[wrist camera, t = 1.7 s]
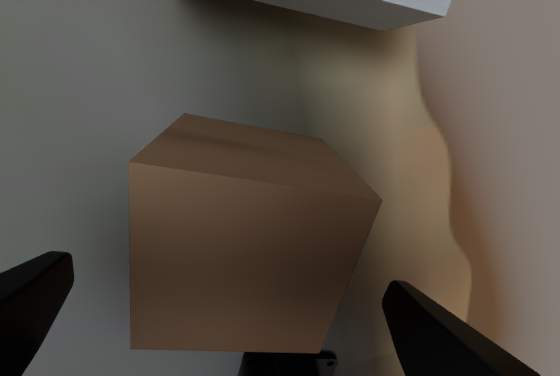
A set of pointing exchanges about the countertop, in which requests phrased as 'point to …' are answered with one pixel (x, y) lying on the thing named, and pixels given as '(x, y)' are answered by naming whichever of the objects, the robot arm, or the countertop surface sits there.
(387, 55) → the countertop surface
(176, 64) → the countertop surface
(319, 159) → the walnut cube
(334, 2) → the riser block
